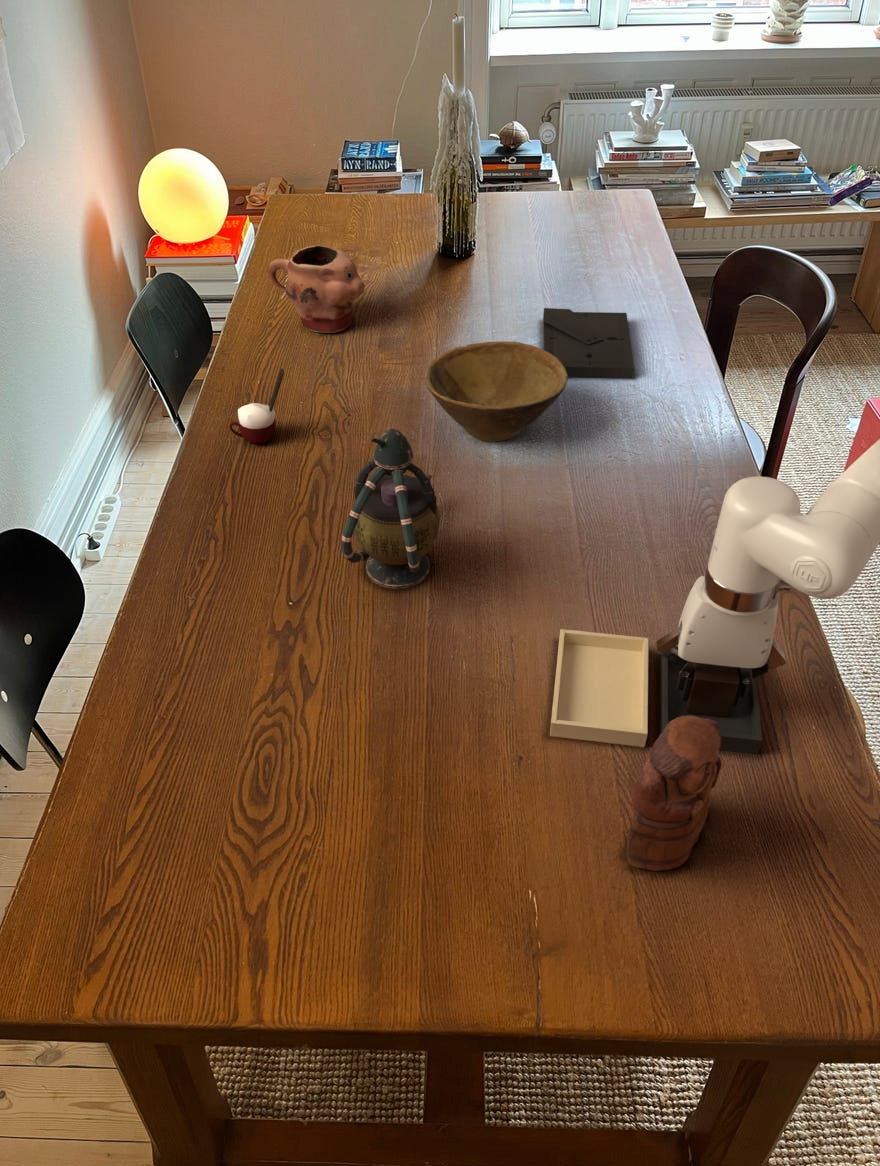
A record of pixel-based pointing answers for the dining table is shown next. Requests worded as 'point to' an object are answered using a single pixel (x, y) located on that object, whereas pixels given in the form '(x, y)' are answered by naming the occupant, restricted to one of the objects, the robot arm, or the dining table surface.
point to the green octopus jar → (392, 516)
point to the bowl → (496, 386)
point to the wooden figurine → (674, 793)
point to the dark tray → (736, 729)
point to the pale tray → (601, 688)
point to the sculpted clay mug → (320, 287)
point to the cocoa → (258, 418)
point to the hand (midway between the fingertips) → (708, 694)
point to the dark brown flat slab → (589, 342)
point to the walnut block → (713, 690)
